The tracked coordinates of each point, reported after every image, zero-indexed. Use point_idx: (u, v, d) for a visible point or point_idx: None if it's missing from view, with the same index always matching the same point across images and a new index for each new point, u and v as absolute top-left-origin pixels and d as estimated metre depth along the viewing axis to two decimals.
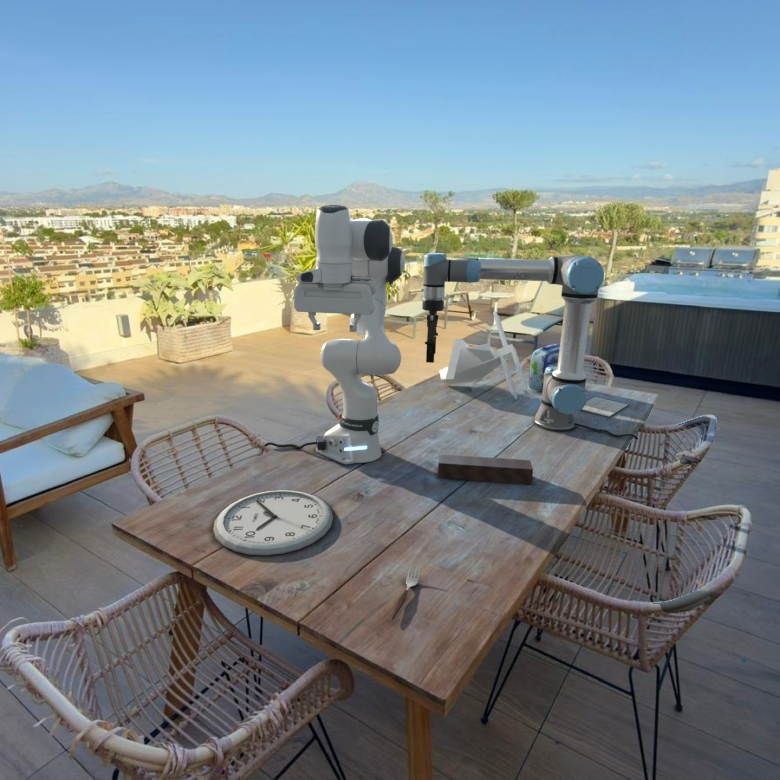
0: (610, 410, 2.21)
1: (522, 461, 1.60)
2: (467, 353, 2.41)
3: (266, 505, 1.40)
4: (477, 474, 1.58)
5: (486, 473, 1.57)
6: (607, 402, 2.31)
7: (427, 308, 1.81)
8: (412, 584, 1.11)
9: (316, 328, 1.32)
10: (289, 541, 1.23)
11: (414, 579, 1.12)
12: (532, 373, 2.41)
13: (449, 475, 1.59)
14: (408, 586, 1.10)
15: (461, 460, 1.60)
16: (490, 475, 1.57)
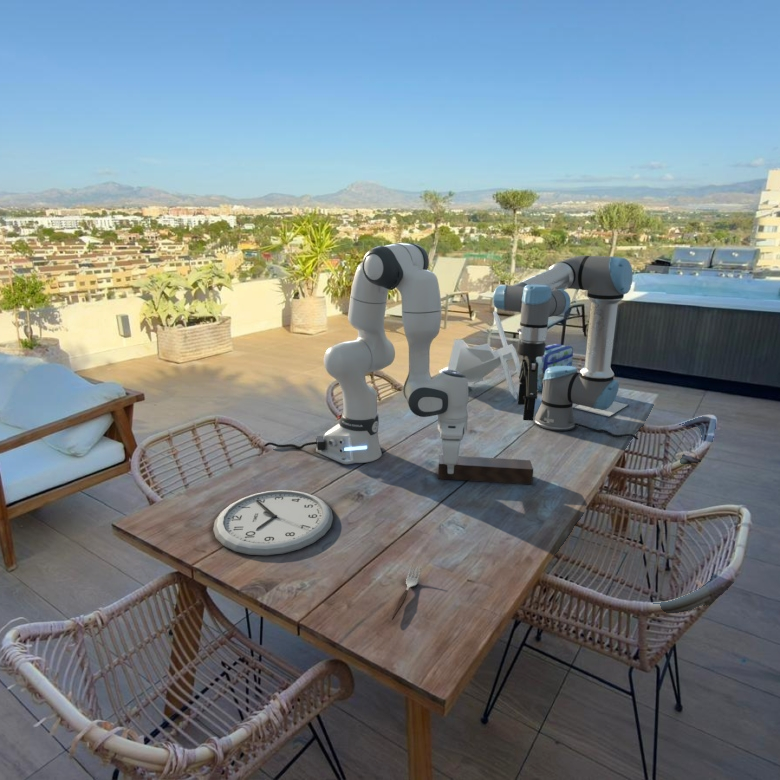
0: (610, 410, 2.21)
1: (522, 461, 1.60)
2: (467, 353, 2.41)
3: (266, 505, 1.40)
4: (477, 474, 1.57)
5: (486, 473, 1.57)
6: None
7: (526, 353, 1.45)
8: (412, 584, 1.11)
9: (453, 471, 1.56)
10: (289, 541, 1.23)
11: (414, 579, 1.12)
12: None
13: (449, 475, 1.58)
14: (408, 586, 1.10)
15: (461, 461, 1.59)
16: (491, 475, 1.57)
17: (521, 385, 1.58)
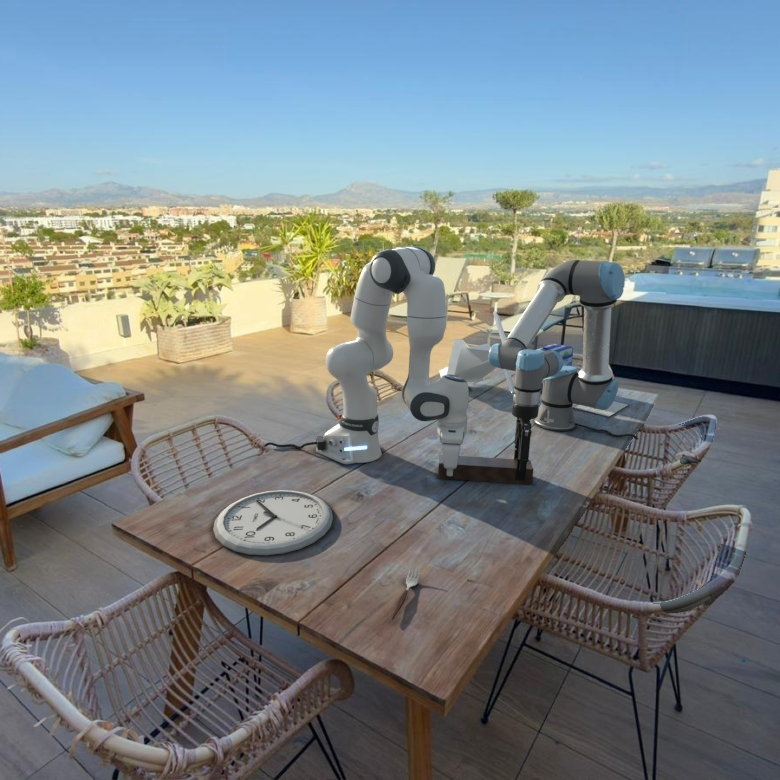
0: (610, 410, 2.21)
1: None
2: (467, 353, 2.41)
3: (266, 505, 1.40)
4: (477, 474, 1.57)
5: (486, 473, 1.57)
6: None
7: (520, 416, 1.51)
8: (412, 584, 1.11)
9: (452, 473, 1.58)
10: (289, 541, 1.23)
11: (414, 579, 1.12)
12: None
13: None
14: (408, 586, 1.10)
15: (461, 461, 1.60)
16: (491, 475, 1.57)
17: (516, 451, 1.61)
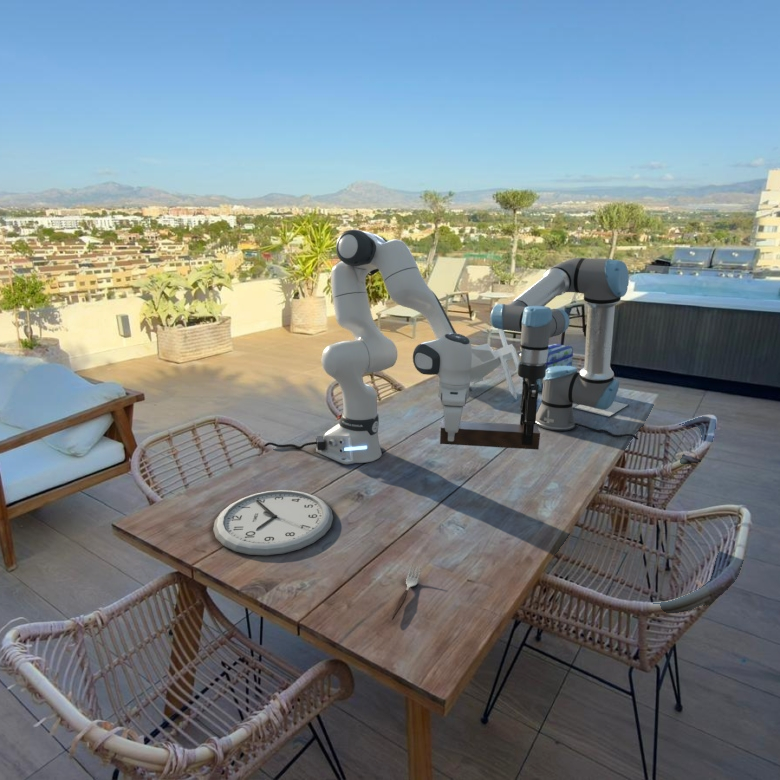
0: (610, 410, 2.21)
1: None
2: None
3: (266, 505, 1.40)
4: (481, 439, 1.50)
5: (490, 438, 1.50)
6: None
7: (526, 375, 1.43)
8: (412, 584, 1.11)
9: (453, 438, 1.50)
10: (289, 541, 1.23)
11: (414, 579, 1.12)
12: None
13: None
14: (408, 586, 1.10)
15: (464, 425, 1.52)
16: (495, 440, 1.50)
17: (522, 415, 1.53)
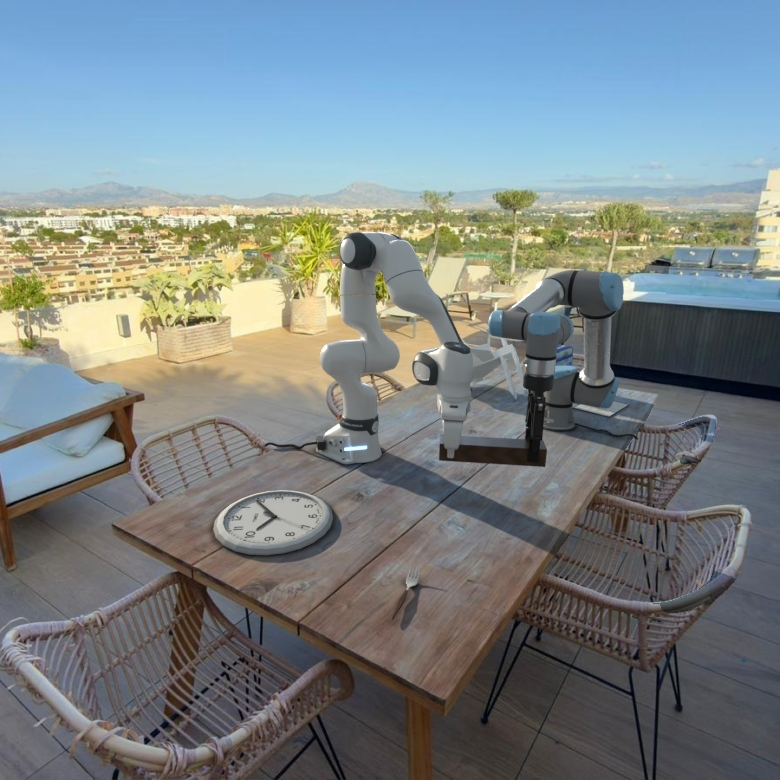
0: (610, 410, 2.21)
1: None
2: None
3: (266, 505, 1.40)
4: (483, 456, 1.39)
5: (493, 454, 1.39)
6: None
7: (532, 388, 1.32)
8: (412, 584, 1.11)
9: (453, 455, 1.40)
10: (289, 541, 1.23)
11: (414, 579, 1.12)
12: None
13: None
14: (408, 586, 1.10)
15: (465, 441, 1.41)
16: (499, 456, 1.39)
17: (528, 430, 1.42)
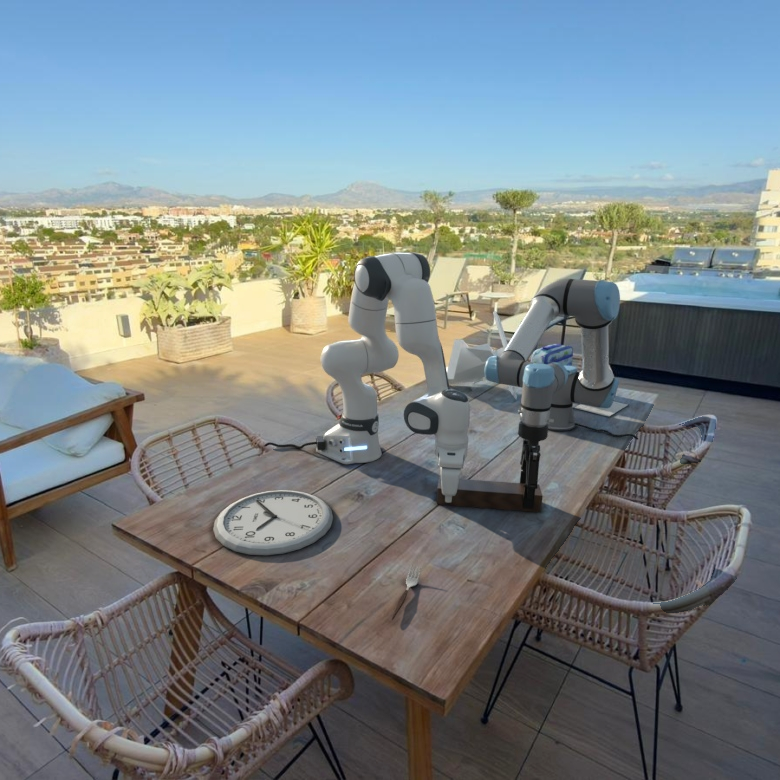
0: (610, 410, 2.21)
1: None
2: (467, 353, 2.41)
3: (266, 505, 1.40)
4: (480, 500, 1.42)
5: (490, 499, 1.42)
6: None
7: (527, 437, 1.35)
8: (412, 584, 1.11)
9: (451, 499, 1.43)
10: (289, 541, 1.23)
11: (414, 579, 1.12)
12: None
13: None
14: (408, 586, 1.10)
15: (463, 485, 1.45)
16: (495, 501, 1.42)
17: (523, 473, 1.46)
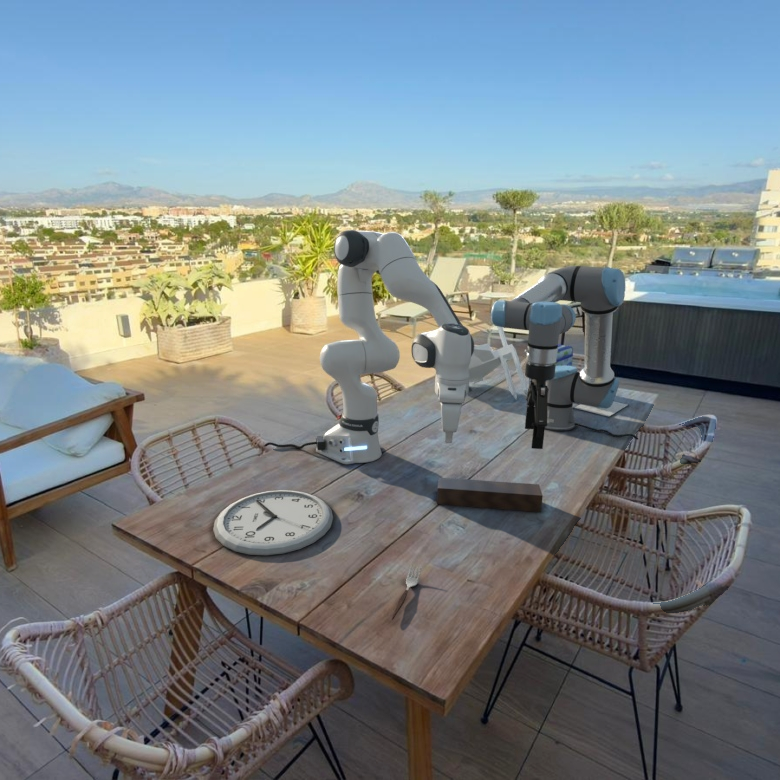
0: (610, 410, 2.21)
1: (530, 485, 1.45)
2: None
3: (266, 505, 1.40)
4: (480, 500, 1.42)
5: (490, 499, 1.42)
6: None
7: (534, 376, 1.34)
8: (412, 584, 1.11)
9: None
10: (289, 541, 1.23)
11: (414, 579, 1.12)
12: None
13: (449, 501, 1.44)
14: (408, 586, 1.10)
15: (463, 485, 1.45)
16: (495, 501, 1.42)
17: (529, 408, 1.47)
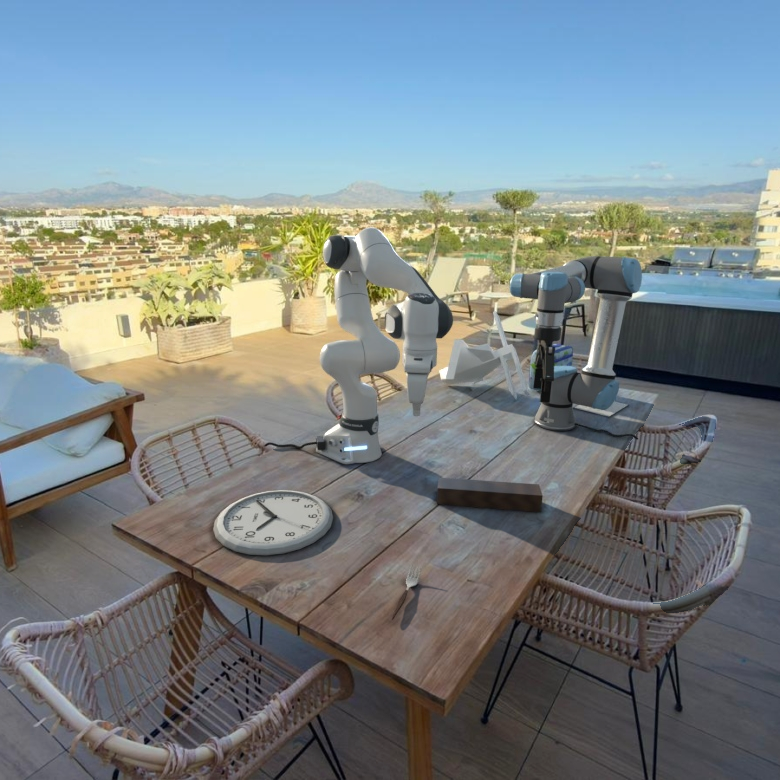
0: (610, 410, 2.21)
1: (530, 485, 1.45)
2: (467, 353, 2.41)
3: (266, 505, 1.40)
4: (480, 500, 1.42)
5: (490, 499, 1.42)
6: None
7: (543, 338, 1.51)
8: (412, 584, 1.11)
9: None
10: (289, 541, 1.23)
11: (414, 579, 1.12)
12: (532, 373, 2.41)
13: (449, 501, 1.44)
14: (408, 586, 1.10)
15: (463, 485, 1.45)
16: (495, 501, 1.42)
17: (537, 369, 1.64)
